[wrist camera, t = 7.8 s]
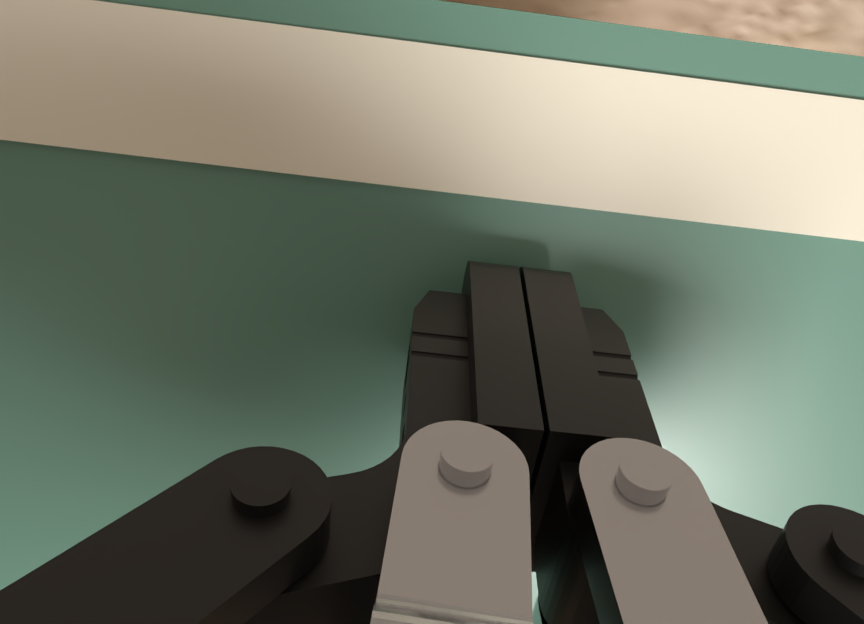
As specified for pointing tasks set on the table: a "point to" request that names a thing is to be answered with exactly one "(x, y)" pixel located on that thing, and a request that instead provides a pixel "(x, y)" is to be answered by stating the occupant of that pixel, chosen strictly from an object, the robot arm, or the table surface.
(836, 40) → the table surface
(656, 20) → the table surface
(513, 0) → the table surface
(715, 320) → the lid
